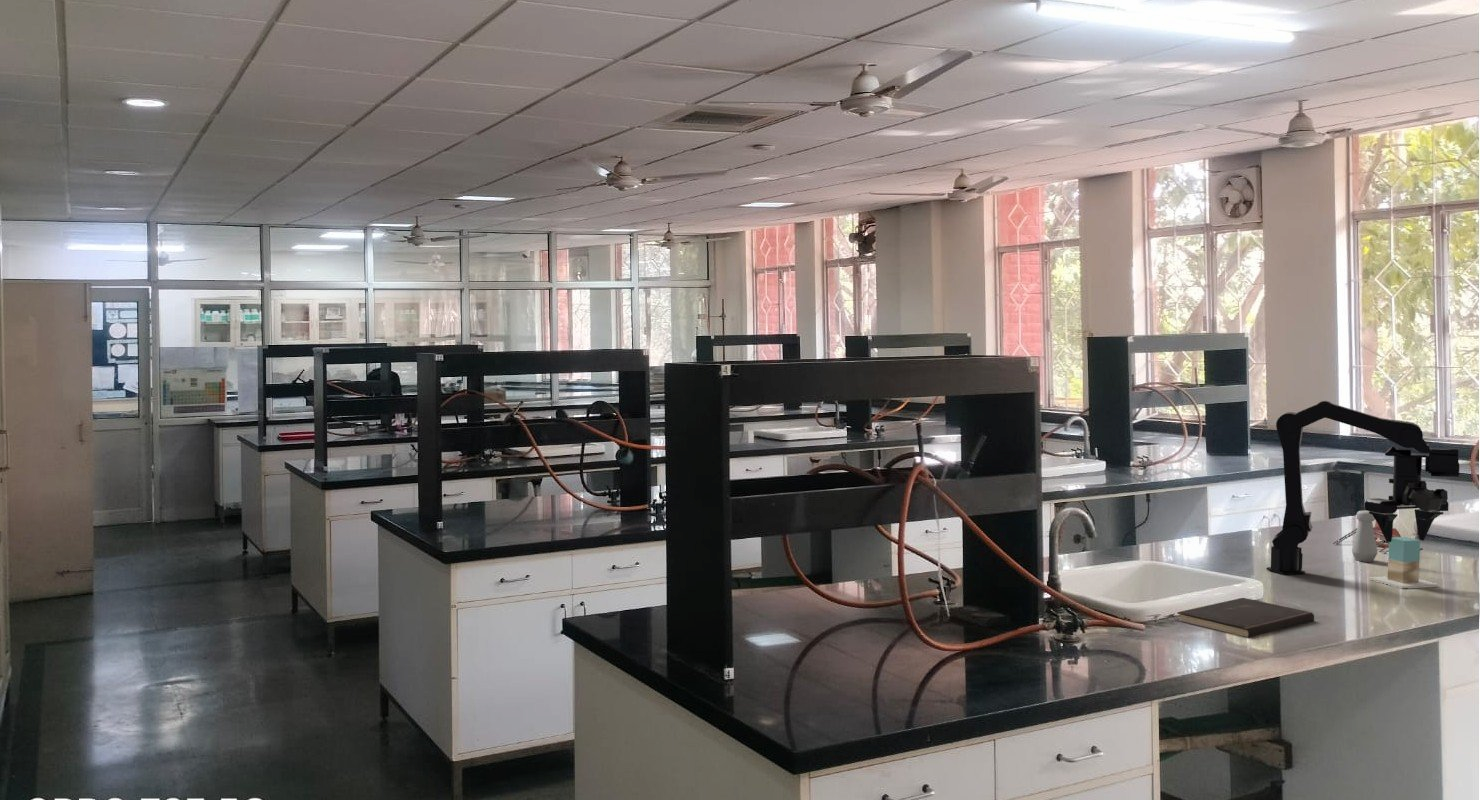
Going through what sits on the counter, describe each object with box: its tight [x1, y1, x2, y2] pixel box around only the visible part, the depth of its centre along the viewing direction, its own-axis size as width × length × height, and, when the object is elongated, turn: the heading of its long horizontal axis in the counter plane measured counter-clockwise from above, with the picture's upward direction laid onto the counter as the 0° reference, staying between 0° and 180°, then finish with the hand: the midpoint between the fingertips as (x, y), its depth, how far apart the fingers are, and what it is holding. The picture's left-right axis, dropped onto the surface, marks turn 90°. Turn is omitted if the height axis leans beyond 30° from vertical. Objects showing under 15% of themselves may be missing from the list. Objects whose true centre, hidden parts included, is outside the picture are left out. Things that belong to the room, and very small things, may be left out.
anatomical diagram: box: [1332, 521, 1424, 555], centre depth 309 cm, size 20×9×25 cm
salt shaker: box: [1351, 510, 1378, 563], centre depth 291 cm, size 6×6×13 cm
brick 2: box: [1387, 558, 1420, 583], centre depth 265 cm, size 4×4×5 cm
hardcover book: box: [1177, 597, 1315, 639], centre depth 230 cm, size 16×23×2 cm
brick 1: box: [1387, 536, 1421, 562], centre depth 264 cm, size 4×4×5 cm
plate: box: [1368, 575, 1439, 589], centre depth 265 cm, size 10×10×1 cm
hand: (1405, 541), depth 264 cm, fingers open, 9 cm apart
